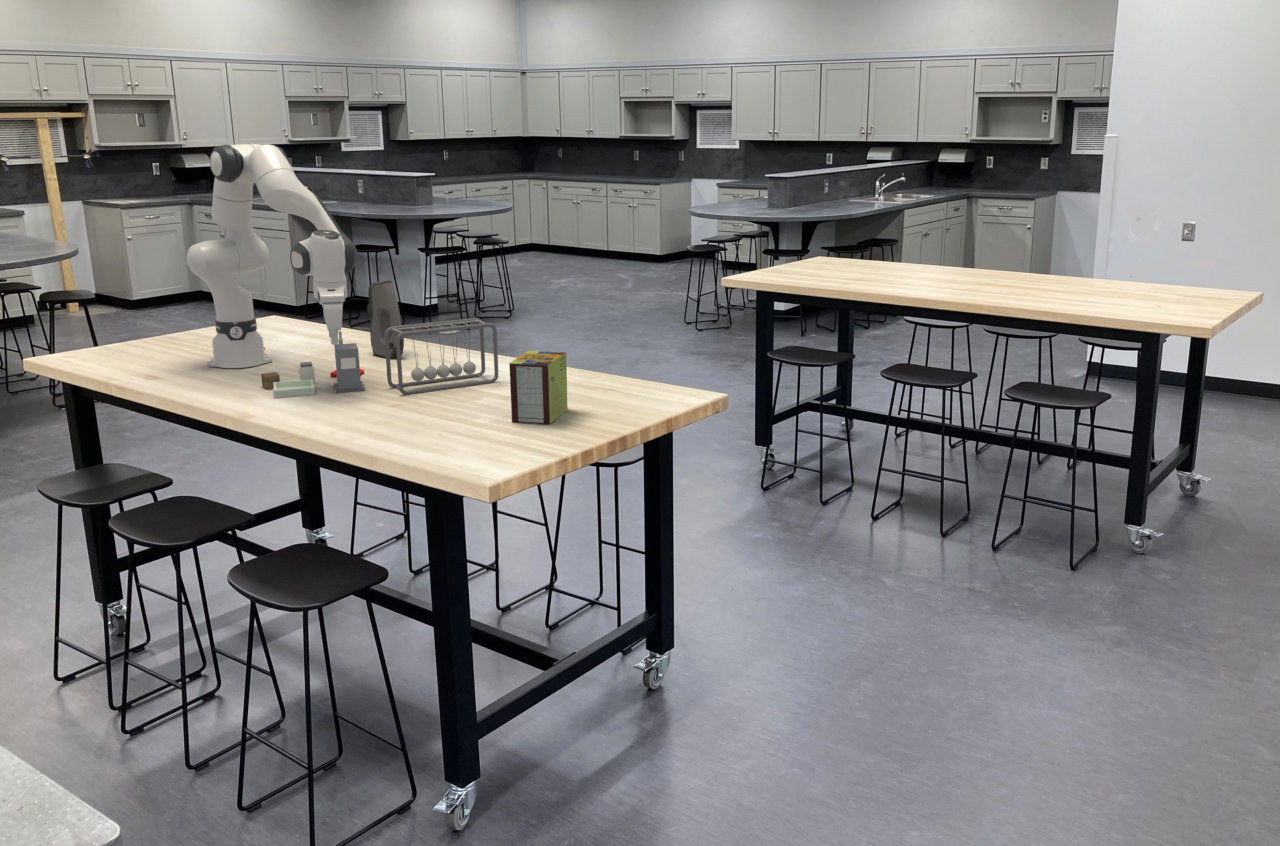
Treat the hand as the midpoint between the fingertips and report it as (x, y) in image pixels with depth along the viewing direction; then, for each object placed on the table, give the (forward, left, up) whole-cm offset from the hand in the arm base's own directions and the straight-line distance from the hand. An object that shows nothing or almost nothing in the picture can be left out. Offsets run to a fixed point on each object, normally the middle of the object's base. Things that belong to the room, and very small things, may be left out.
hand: (333, 340), depth 291 cm
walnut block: (-13, -18, -15) cm, 26 cm away
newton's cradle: (+1, +30, -15) cm, 33 cm away
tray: (-5, -12, -15) cm, 19 cm away
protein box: (+43, +47, -15) cm, 66 cm away
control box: (-5, +3, -15) cm, 16 cm away
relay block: (-15, -8, -15) cm, 22 cm away
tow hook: (-23, +4, -15) cm, 28 cm away
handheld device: (-45, +19, -15) cm, 51 cm away
